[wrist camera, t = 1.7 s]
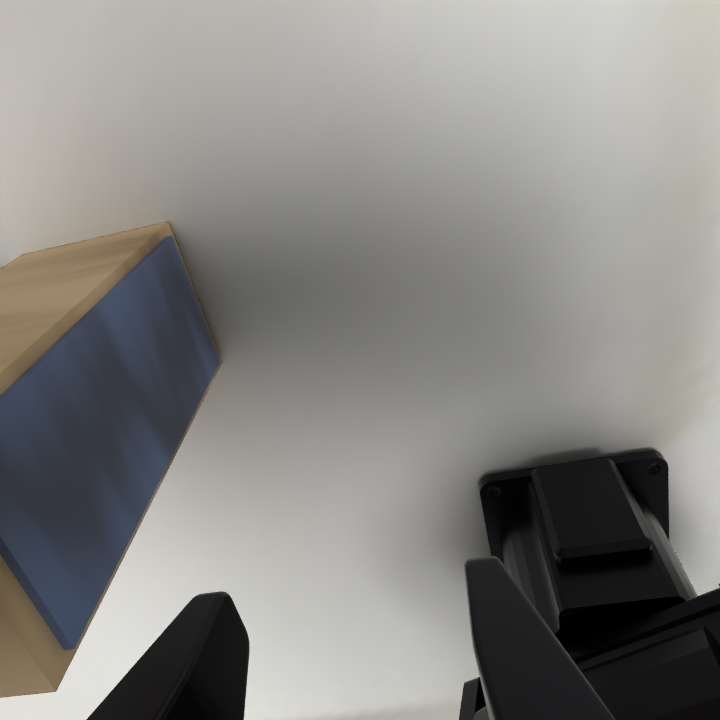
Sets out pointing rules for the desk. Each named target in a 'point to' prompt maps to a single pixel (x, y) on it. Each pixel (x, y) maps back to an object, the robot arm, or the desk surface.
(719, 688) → the robot arm
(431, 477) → the desk surface
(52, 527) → the oak block
